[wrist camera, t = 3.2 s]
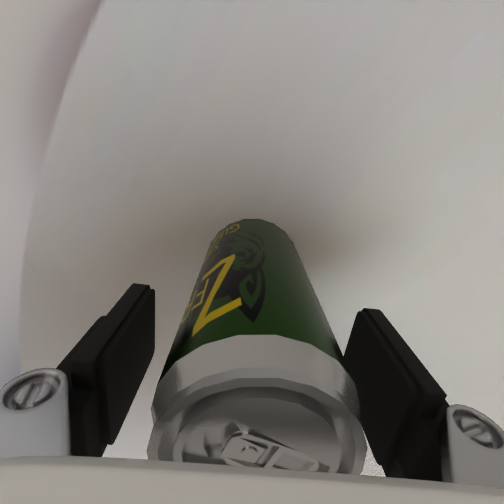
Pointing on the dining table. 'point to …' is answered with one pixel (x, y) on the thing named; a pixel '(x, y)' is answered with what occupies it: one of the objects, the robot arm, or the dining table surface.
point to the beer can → (256, 366)
